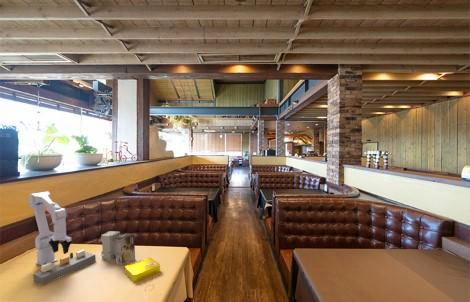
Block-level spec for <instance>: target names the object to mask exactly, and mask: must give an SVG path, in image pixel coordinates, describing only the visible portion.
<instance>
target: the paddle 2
mask: <svg viewBox="0 0 470 302" xmlns="http://www.w3.org/2000/svg"><path fill="white" fill-rule="evenodd" d="M85 253H86V250H85V249H80V250H78V251H76V252H75V257H78V258H79V257H82V256H84V255H85Z"/></svg>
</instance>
